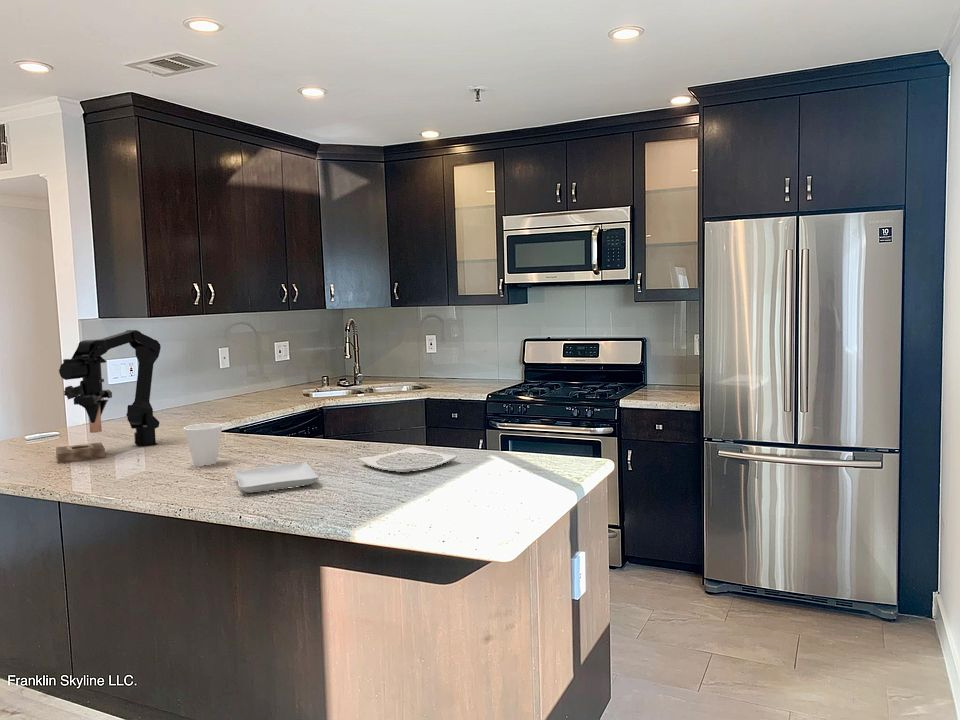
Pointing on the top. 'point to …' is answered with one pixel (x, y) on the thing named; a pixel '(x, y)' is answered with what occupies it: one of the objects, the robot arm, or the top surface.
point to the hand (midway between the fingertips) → (95, 421)
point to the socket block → (80, 452)
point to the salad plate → (275, 477)
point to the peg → (96, 423)
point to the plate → (372, 460)
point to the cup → (203, 442)
